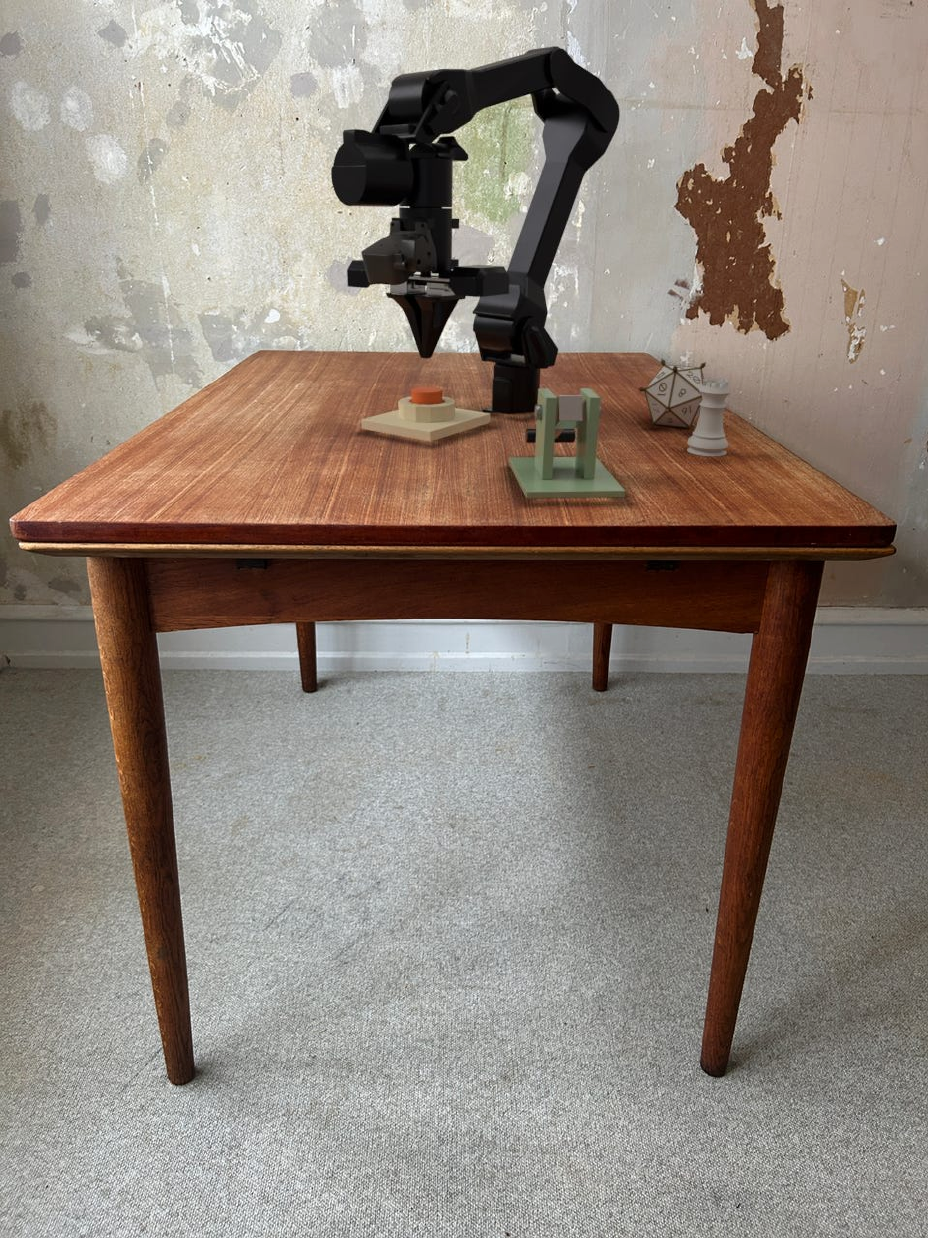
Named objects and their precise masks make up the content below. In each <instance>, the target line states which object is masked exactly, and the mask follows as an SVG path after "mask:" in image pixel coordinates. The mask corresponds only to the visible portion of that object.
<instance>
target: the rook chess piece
mask: <svg viewBox="0 0 928 1238" xmlns="http://www.w3.org/2000/svg"><path fill="white" fill-rule="evenodd" d="M699 391H700V393H701V395H702V401H701V403H700V404H699V405H700V407H701V408H700V415H699V417H698V418H697V424H696V426H695V428H694V431H692V435H691V436H690V437H689V438H688V439H687V441H686V444H687V445H688V448H687V449H686V451H687V452H688V453H690V454H692V455H696V456H703V457H721V456H726V454H728V452H727V451H726V449H727V448H728V447H729V442H728V440H727V439H726V433H725V429H724V414H725V408H727V405H726V398H727V397H728V396H729V395H730V394H731V393H732V390H730V388H729V381H728V380H725V379H720V380H719V382H717V378H711V381H710V379H708V378H707V379H704V380H703V385H702V386H701V388H700V389H699Z"/></svg>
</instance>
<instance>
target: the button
mask: <svg viewBox="0 0 928 1238" xmlns="http://www.w3.org/2000/svg"><path fill="white" fill-rule="evenodd" d="M410 393H411V396H412V403H414V404H424V405H432V404H441V403H442V397H443V388H441V387H436V386H416V387H413V388H411V391H410Z"/></svg>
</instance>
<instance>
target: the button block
mask: <svg viewBox="0 0 928 1238" xmlns="http://www.w3.org/2000/svg"><path fill="white" fill-rule="evenodd" d="M397 405H398V409H396V410H392V411H388V412H384V413H381V414H376V415H373V416H369V417H365V418H362V419H361V420H360V421H361V429H362V430H367V431H371V432H378V433H381V434H382V433H383V434H388V435H393V436H399V437H404V438H408V439H414V440H420V441H426V442H433V441H437V440H439V439H442V438H446V437H449V436H453V435H456V434H459V433H462V432H466V431H469V430H471V429H475V428H478V427H481V426H485V425H487V424H490V423H491V413H484V412H482V411H477V410H471V409H465V408H458V407H456V400H455V399H453V398H451V397H448V396H442V403H441V404H432V405H424V404H414V403H412V395H410V396H405V397H403V398H402V397H401V398H400V399H399V400H398V403H397Z"/></svg>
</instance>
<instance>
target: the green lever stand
mask: <svg viewBox="0 0 928 1238" xmlns="http://www.w3.org/2000/svg"><path fill="white" fill-rule="evenodd" d="M579 395H582V410H583V421H582V422H581V424H580V425H579V426H578V427H577V428H576V429H577V430H576V445H575V456H555V455H554V454H555V443H554V440H555V422H556V405H557V397H558V396H556V395H555V393H553V392H552V391H551V390H550V388H547V387H544V388H543V387H542V388H541V387H540V388H539V389H538V405H535V412H534V420H535V421H536V425H535V426H536V427H535V429H536V443H535V448H534V456H531V457H530V456H529V457H527V456H525V457H524V456H523V457H521V456H520V457H514V456H513V457H511V456H510V457H508V465H509V467H510V468H511V471H512V473H513V474H514V477H515V479H516V481H517V483H518V485H519V487H520V489H521V491H522V492H523V495H524V497H525V498H526V499H586V498H588V499H591V498H592V499H595V498H626V489H625V488H624V487H622V485H621V484H620V483H619V481H618V480H617V479H616V478H615V476H613V475H612V473H611V472H610V471H609V469H607V467H605V465H604V464H603V463H602V462H601V460H600V459H599V458H598V457H597V451H598V450H597V449H598V438H599V437H598V436H599V426H600V425H599V424H600V419H601V416H602V406H601V398H602V397H601V396H600V395H598V394H597V393H596V392H595V391H594V390H593V389H592V388H591V387H585V388H584V387H581V388H580V389H579Z"/></svg>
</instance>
